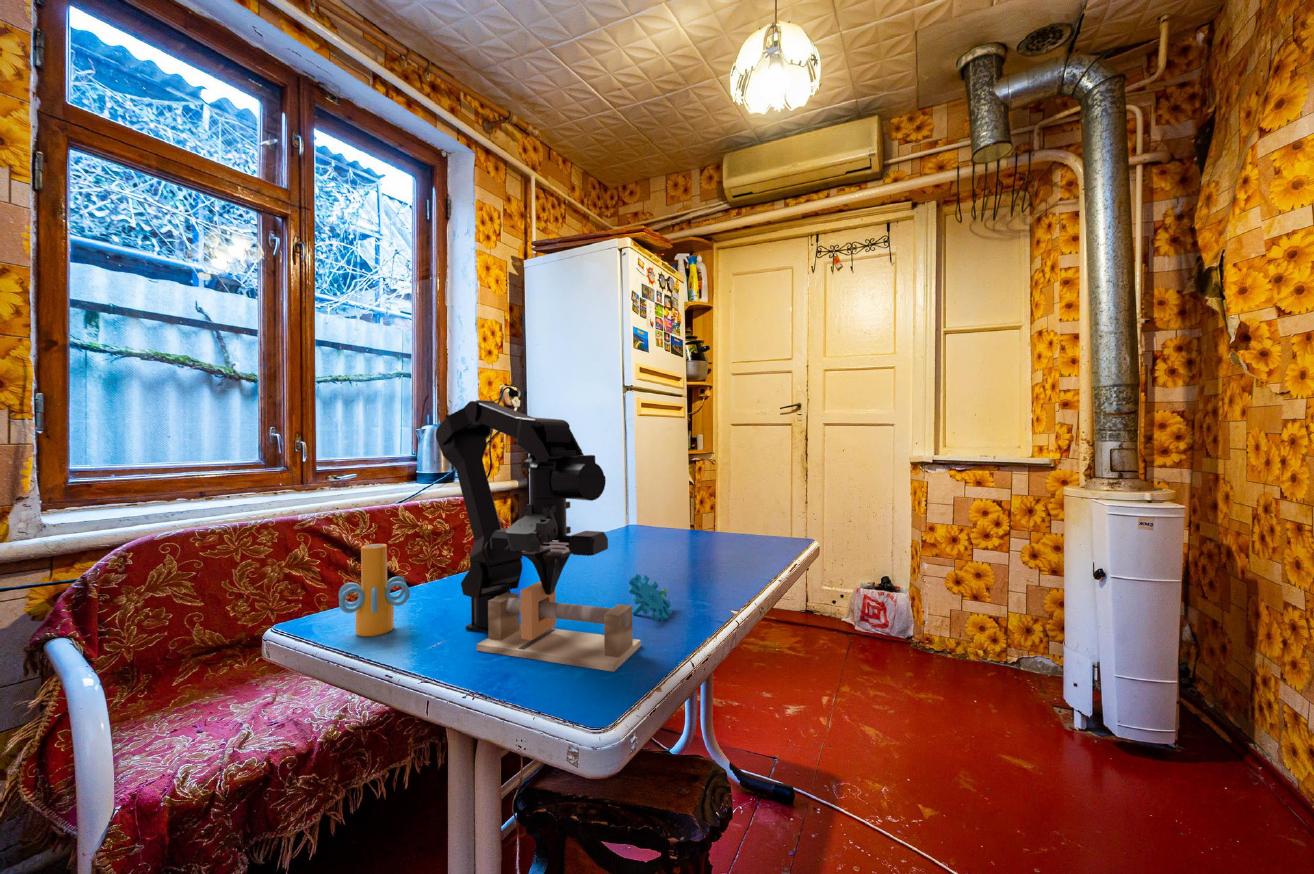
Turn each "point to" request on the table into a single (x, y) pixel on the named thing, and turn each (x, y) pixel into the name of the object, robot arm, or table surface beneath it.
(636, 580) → the gear
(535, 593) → the collar
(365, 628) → the cylinder
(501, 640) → the pipe rig
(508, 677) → the table surface
